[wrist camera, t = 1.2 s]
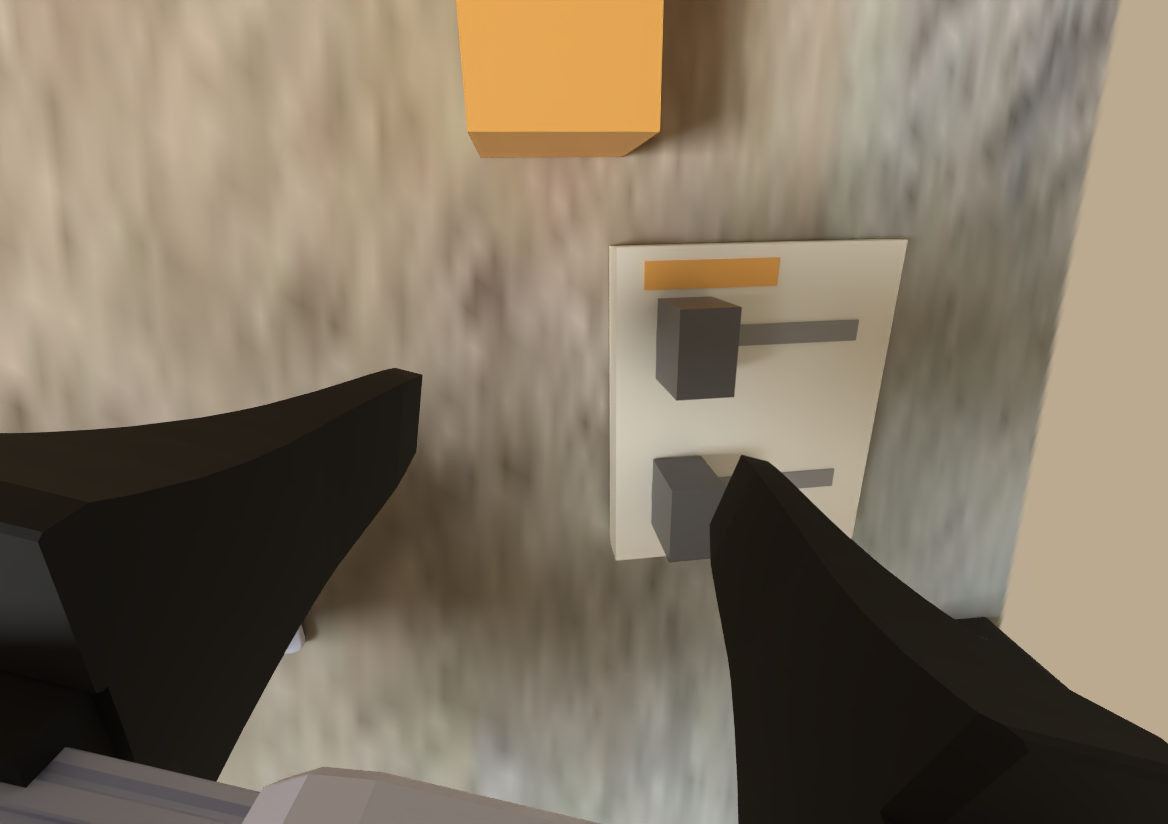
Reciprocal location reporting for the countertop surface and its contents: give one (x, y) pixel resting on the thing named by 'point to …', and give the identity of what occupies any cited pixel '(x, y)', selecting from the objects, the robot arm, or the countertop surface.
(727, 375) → the block
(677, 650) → the countertop surface
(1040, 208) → the countertop surface
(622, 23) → the cap
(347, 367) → the countertop surface
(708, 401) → the panel
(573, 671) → the countertop surface
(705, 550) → the block
